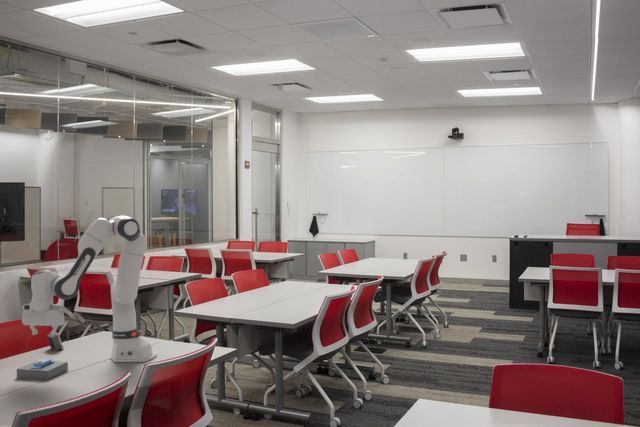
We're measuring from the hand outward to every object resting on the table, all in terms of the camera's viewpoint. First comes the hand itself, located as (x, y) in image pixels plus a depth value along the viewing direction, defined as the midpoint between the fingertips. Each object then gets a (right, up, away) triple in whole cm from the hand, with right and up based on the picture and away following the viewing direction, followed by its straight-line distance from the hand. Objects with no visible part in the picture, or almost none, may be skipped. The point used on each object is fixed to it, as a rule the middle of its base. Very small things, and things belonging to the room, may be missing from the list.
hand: (44, 334), depth 271 cm
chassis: (0, -18, -2) cm, 18 cm away
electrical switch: (-14, -17, +42) cm, 47 cm away
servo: (0, -18, -2) cm, 18 cm away
